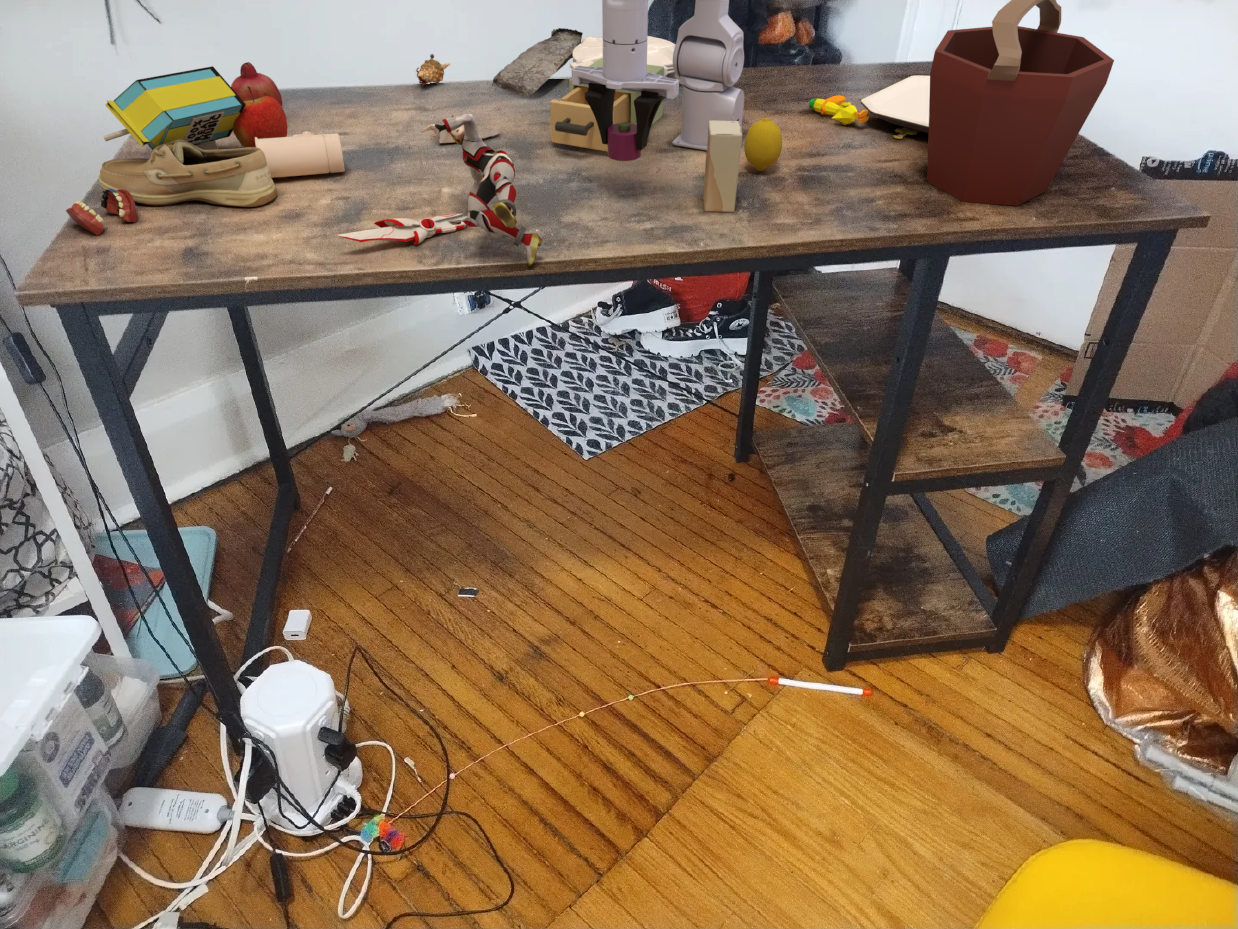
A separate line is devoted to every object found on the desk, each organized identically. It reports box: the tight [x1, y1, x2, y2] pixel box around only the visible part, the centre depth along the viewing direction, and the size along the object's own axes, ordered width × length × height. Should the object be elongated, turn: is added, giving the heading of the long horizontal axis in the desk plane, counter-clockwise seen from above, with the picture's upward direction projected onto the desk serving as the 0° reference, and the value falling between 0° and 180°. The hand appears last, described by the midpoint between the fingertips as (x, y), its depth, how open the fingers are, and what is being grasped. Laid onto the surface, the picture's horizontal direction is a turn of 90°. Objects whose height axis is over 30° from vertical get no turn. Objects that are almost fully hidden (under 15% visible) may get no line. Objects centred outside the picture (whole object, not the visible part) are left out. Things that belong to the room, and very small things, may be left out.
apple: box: [232, 86, 288, 148], centre depth 135 cm, size 8×8×10 cm
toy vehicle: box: [569, 35, 680, 98], centre depth 166 cm, size 23×25×6 cm
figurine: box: [414, 53, 451, 88], centre depth 164 cm, size 14×5×4 cm, turn 148°
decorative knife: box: [892, 126, 922, 140], centre depth 148 cm, size 12×1×5 cm
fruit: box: [230, 61, 283, 108], centre depth 144 cm, size 8×8×10 cm
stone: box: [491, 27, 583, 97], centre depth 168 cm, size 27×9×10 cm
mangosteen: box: [607, 122, 642, 162], centre depth 121 cm, size 5×5×4 cm
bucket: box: [926, 0, 1115, 207], centre depth 124 cm, size 24×22×25 cm
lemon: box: [743, 117, 783, 172], centre depth 132 cm, size 6×6×8 cm
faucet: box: [255, 130, 346, 179], centre depth 133 cm, size 6×12×12 cm
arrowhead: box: [438, 127, 500, 144], centre depth 144 cm, size 5×1×10 cm
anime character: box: [335, 113, 543, 267], centre depth 112 cm, size 23×16×25 cm
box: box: [702, 120, 743, 213], centre depth 122 cm, size 5×4×11 cm
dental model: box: [65, 189, 138, 237], centre depth 119 cm, size 6×4×8 cm
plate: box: [860, 74, 930, 134], centre depth 151 cm, size 29×29×2 cm
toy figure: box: [808, 94, 870, 126], centre depth 151 cm, size 7×4×12 cm
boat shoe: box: [98, 140, 278, 208], centre depth 124 cm, size 25×9×8 cm, turn 83°
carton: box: [102, 65, 246, 151], centre depth 126 cm, size 7×8×18 cm
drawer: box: [549, 86, 631, 152], centre depth 140 cm, size 15×10×6 cm
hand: (624, 144), depth 122 cm, fingers closed on mangosteen, 4 cm apart
